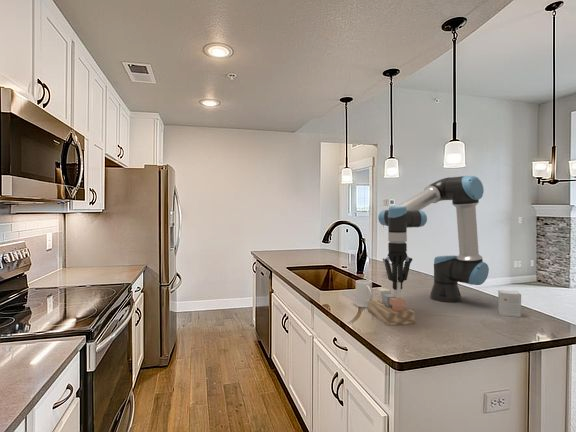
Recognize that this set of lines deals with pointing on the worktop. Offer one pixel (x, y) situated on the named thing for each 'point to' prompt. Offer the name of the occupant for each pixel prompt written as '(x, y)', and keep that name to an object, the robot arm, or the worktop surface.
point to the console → (390, 314)
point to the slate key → (386, 299)
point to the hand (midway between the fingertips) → (397, 296)
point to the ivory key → (382, 291)
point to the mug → (363, 293)
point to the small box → (509, 303)
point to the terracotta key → (397, 304)
